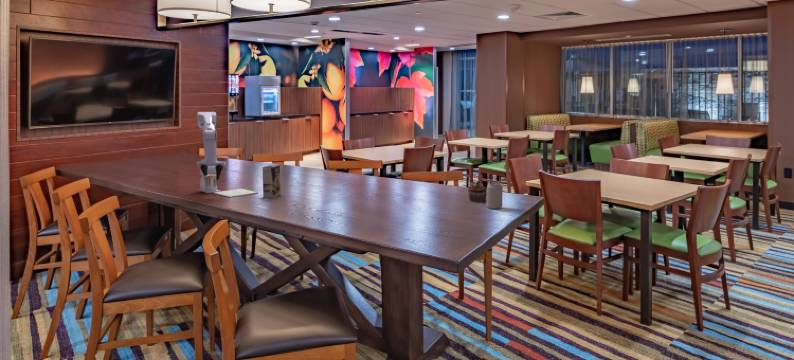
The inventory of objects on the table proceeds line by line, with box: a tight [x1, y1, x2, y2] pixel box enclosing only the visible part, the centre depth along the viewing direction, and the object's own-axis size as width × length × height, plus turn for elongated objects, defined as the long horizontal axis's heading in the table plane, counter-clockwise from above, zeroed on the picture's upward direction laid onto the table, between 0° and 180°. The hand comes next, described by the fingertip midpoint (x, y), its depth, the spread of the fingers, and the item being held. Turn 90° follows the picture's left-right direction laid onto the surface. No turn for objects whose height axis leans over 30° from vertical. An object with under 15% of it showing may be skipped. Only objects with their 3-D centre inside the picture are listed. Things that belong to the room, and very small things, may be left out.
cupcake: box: [467, 180, 487, 203], centre depth 286 cm, size 10×10×10 cm
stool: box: [205, 175, 220, 187], centre depth 289 cm, size 5×5×6 cm
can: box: [485, 182, 504, 210], centre depth 268 cm, size 8×8×12 cm
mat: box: [213, 188, 259, 199], centre depth 306 cm, size 17×17×1 cm
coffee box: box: [262, 164, 281, 198], centre depth 297 cm, size 9×6×16 cm
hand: (212, 179), depth 289 cm, fingers closed on stool, 5 cm apart
